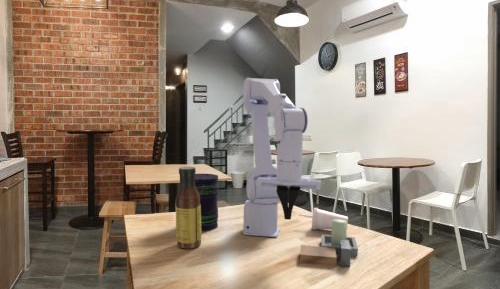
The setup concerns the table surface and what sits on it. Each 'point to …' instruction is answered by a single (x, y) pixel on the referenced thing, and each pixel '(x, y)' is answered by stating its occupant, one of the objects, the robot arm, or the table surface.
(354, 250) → the slate tray
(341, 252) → the post
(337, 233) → the sage dowel
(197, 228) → the sauce bottle
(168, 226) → the table surface
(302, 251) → the tan rectangular block
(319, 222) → the smoothie
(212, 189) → the storage jar
